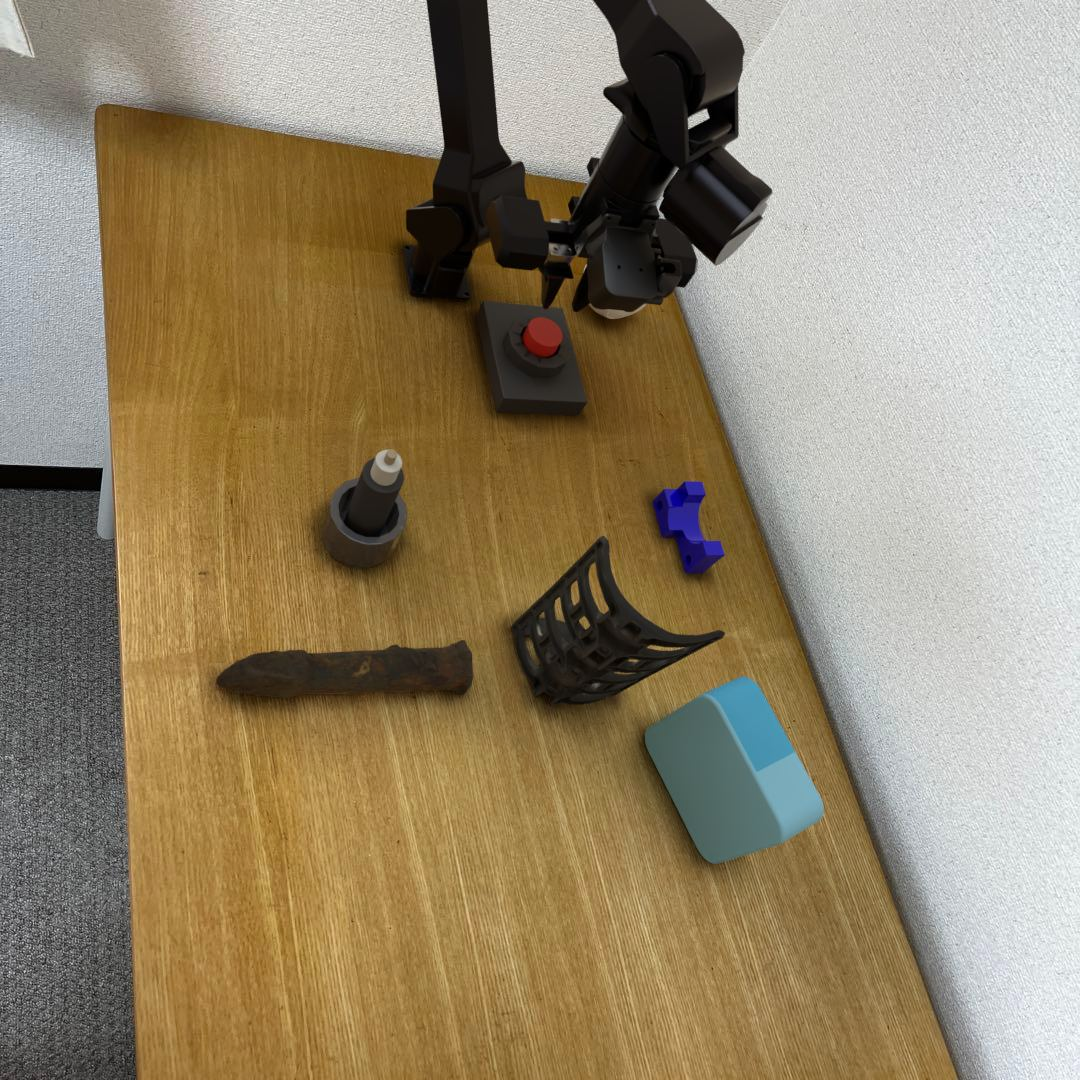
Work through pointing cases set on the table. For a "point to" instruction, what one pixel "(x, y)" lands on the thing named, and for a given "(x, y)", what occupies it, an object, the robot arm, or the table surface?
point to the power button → (542, 337)
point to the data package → (733, 772)
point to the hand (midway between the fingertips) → (559, 307)
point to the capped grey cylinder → (375, 494)
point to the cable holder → (687, 526)
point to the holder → (594, 638)
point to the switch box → (528, 362)
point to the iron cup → (355, 546)
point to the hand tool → (351, 671)
